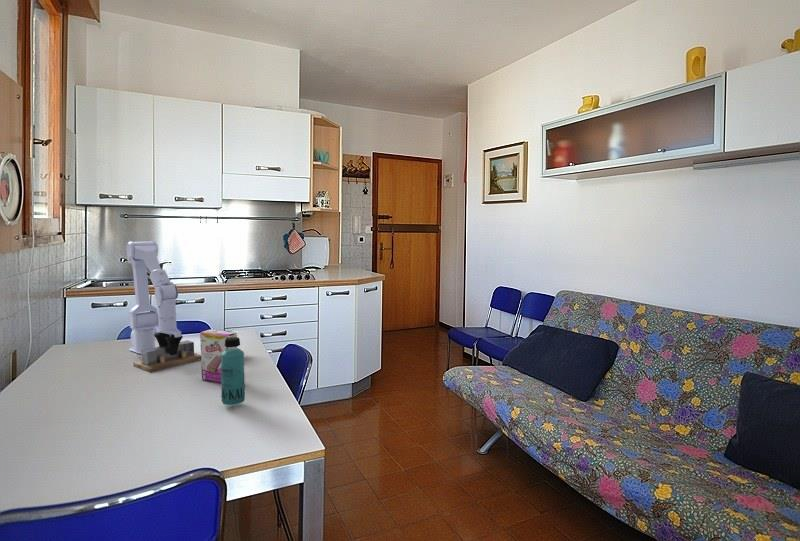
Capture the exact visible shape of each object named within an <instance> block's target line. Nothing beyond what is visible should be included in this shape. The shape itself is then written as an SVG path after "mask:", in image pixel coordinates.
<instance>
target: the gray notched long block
mask: <svg viewBox="0 0 800 541" xmlns="http://www.w3.org/2000/svg"><path fill="white" fill-rule="evenodd" d="M194 343H195V342H194V341H191V340H188V339H187V340H181V341H180V343H179V346H178V350H177V354H176V355H170V353H169V346H168V345H165V346H160V347H159V346H155V347H156V348H148V349H144V350H141V354H140V355H141V360H142V364H144V365H147V366H150V365H154V364H157V363H160V356H165V361H168V360H172V359H177V358H181V352H182V351H186V357H187V356H191V355H194V353H195V344H194Z"/></svg>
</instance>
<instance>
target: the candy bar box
mask: <svg viewBox="0 0 800 541" xmlns="http://www.w3.org/2000/svg"><path fill="white" fill-rule="evenodd" d="M227 331H228V330H219V329H218V330H217V329H206V330H203V331H201V332H199V333H200V355H201V360H200V362H201V364H200V365H201V367H200V368H201V380H202V381H207V382H213V383H219V384H221V353H222V352H223V351H224V350H226V349H229V348H238V346H237V347H225V339H226V338H230V337H237V336H238V333H237V332H234V331H232V332H227Z"/></svg>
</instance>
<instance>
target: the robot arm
mask: <svg viewBox="0 0 800 541" xmlns="http://www.w3.org/2000/svg"><path fill="white" fill-rule="evenodd" d="M125 249H126V250H125V251H126V259H127V263H129V264H131V266H132V273H133V274H132V275H133V286H134V294H135V295H134V296H135V305H134V306H133V307H132V308H131V309H130V310H128V318H127V319H128V326H129V328H130V329H131V333H130V346H131V347H130V348H128V350H129V351H130V352H133V353H136V354H139V355H141V350H144V349H148V348H156V347H157V346H156V341H157V343H158V347H160V346H165V345H168V346H169V353H170V355H176V354H177V350H178V346H179V343H180V342H181V341H182V339H183V335H182V331H181V330H180V329H178V327H177V312H176V310H177V308H176V306H177V305H176V300H177V299H178V298H179V289H178V286H177V284H176V283H174V282H172V281H171V279H170V278H169V276H168V273H167V272H166V270H165V269H163V268H161V265H160V262H159V258H158V254H159V246H158V244H157V242H156V241H155V240H151V241H128V243H127V244H126V247H125ZM148 270H149V272H150V274H149V279H150V281H151V283H152V285H153V287H154V298H155V300H156V301H155V302H156V306H158V307H156V306H154V305H153V304H151V300H150V289H149V279H148Z"/></svg>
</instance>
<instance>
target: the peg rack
mask: <svg viewBox="0 0 800 541" xmlns="http://www.w3.org/2000/svg"><path fill="white" fill-rule="evenodd" d="M199 359H201V354H199V353H196V352H194V355H191V356H187V357H186V351H182V352H181V358H177V359H172V360H168V361H165V356H160V363H157V364H154V365H150V366H147V365H144V364H142V359H141V360H138V361H134V362H132V363H133V367H135V368H139V369H141V370H144V371H146V372H147V373H152V372H156V371H160V370H164V369H169V368H173V367H176V365H177V366H180V364H181V365H184V363H185V364H187V363H188V362H189V363H192V362H191V361H193V362H196V361H195V360H197V361H199ZM172 366H173V367H172Z"/></svg>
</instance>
